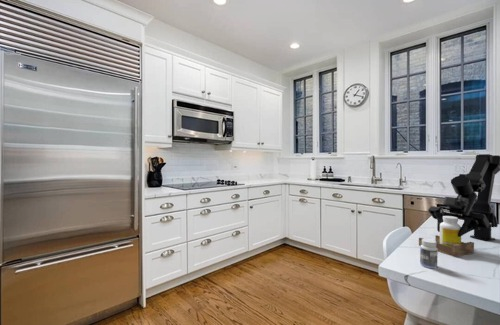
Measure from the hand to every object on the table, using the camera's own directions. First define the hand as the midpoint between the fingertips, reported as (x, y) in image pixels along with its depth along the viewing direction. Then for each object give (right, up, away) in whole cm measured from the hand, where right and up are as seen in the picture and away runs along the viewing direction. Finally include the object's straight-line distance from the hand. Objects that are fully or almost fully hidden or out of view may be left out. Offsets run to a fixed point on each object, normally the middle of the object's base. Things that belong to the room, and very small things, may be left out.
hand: (448, 233), depth 99 cm
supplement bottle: (+1, -7, +1) cm, 7 cm away
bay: (0, -7, +2) cm, 7 cm away
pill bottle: (-17, -7, -14) cm, 23 cm away
